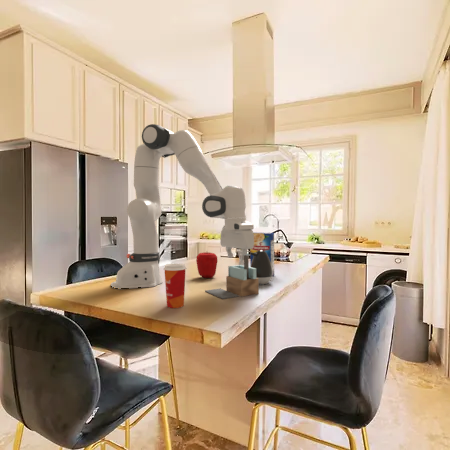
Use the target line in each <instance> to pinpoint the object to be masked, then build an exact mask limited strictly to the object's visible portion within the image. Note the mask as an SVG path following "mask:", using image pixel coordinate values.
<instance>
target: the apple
mask: <svg viewBox="0 0 450 450" xmlns="http://www.w3.org/2000/svg"><path fill="white" fill-rule="evenodd" d="M195 261H196V267H197V268H196V269H197V271H198V275H199V276H200V277H201V278H203V279H210V278H214V277H215V275H216V272H217V267H218V256H217V254H216V253H213V252H208V251H206V252H200V253H198V254H197V256H196V260H195Z"/></svg>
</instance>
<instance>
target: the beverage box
mask: <svg viewBox="0 0 450 450" xmlns="http://www.w3.org/2000/svg"><path fill="white" fill-rule="evenodd" d="M253 234H254V246H253V248H252V249H249V250H250V251H249V254H250V253H251V252H253V253H256V252H257V251H258V250H263V251H265V252H266V253H267V255H268V257H269V260H270V263H271V267H272V277H273V276H275V232H253ZM253 257H254V256H253V255H251V254H250V257H249V258H250V259H249V261H250V265H249V267H251V263H252V260H253Z"/></svg>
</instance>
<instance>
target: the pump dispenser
mask: <svg viewBox="0 0 450 450" xmlns="http://www.w3.org/2000/svg"><path fill="white" fill-rule="evenodd" d="M249 254H251V255H253V256H254V257H253V260H252V263H251V267H252V268H256V278H258V285H267V284H268V283H270V282H271V280H272V277H273V276H272V267H271V263H270V260H269V257H268V255H267V253H266V252H265V251H263V250H258V251H257V252H256V253H253V252H251V253H250V252H249Z"/></svg>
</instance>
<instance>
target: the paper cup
mask: <svg viewBox="0 0 450 450" xmlns="http://www.w3.org/2000/svg"><path fill="white" fill-rule="evenodd" d="M186 270H187V267H186V264H185V263H167V264H165V265H164V267H163V271H164V283H165V294H166V307H167V308H169V307H170V308H169V309H178V308H183V307H184V304H185V289H186V287H185V285H186Z"/></svg>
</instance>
